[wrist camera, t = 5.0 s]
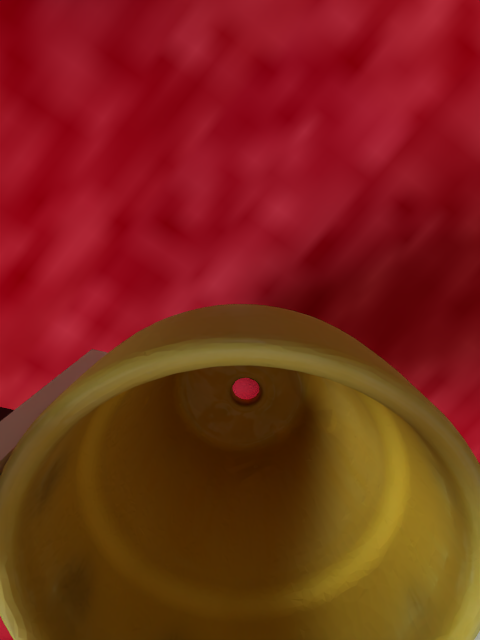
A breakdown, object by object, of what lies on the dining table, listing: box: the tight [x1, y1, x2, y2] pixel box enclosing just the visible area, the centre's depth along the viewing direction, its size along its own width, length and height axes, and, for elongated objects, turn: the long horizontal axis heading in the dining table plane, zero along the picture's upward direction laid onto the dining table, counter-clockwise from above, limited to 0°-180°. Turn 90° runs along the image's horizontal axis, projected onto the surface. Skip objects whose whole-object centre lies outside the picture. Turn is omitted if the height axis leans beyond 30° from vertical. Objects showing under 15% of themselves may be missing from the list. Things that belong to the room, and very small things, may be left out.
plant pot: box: [0, 304, 480, 640], centre depth 11 cm, size 10×10×10 cm
